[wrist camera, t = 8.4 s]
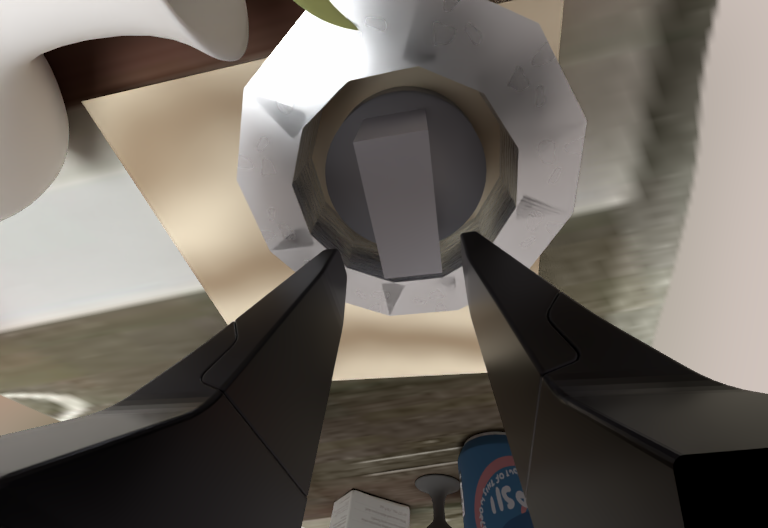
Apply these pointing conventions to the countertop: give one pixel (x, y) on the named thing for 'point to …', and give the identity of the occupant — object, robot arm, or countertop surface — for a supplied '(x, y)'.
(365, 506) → the skincare box
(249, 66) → the board
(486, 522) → the soda can
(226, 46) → the flower in vase
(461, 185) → the cap
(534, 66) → the white faceted ring
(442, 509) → the sundae
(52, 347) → the countertop surface
